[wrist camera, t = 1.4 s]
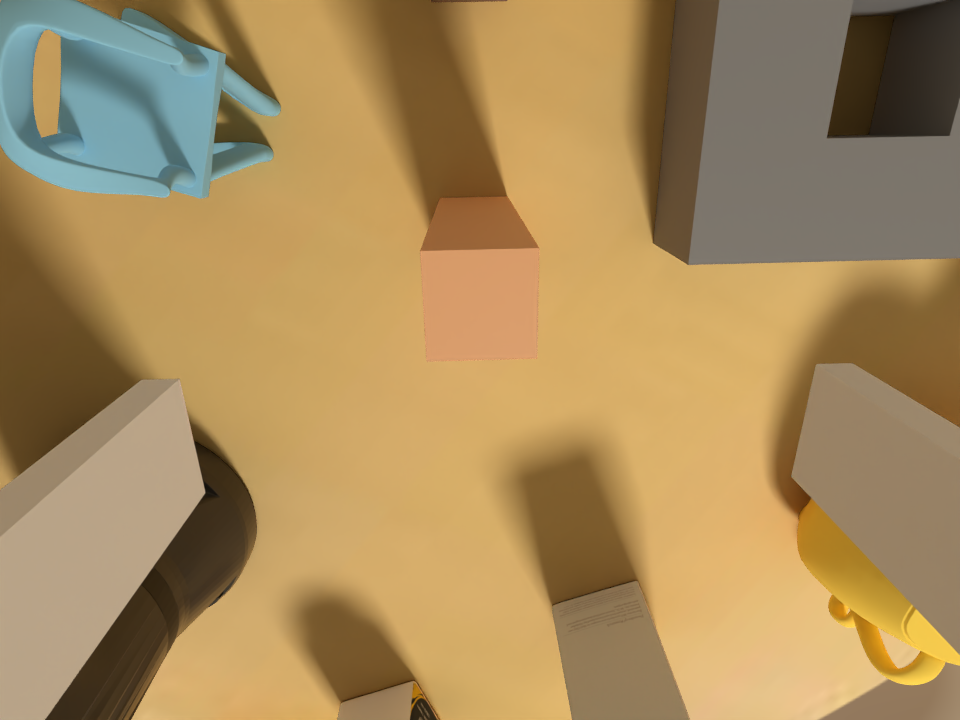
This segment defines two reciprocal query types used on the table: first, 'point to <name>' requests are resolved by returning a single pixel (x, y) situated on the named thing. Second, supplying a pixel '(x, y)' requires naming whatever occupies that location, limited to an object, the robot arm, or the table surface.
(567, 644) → the supplement box
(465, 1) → the short pin
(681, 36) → the hole block
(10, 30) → the blue tall openwork piece
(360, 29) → the table surface
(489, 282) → the tall pin
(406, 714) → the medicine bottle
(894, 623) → the teapot
